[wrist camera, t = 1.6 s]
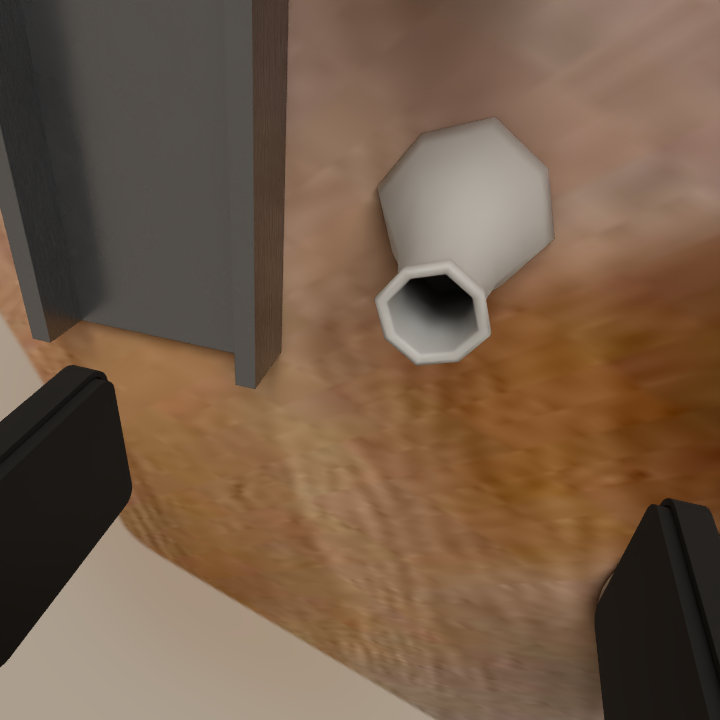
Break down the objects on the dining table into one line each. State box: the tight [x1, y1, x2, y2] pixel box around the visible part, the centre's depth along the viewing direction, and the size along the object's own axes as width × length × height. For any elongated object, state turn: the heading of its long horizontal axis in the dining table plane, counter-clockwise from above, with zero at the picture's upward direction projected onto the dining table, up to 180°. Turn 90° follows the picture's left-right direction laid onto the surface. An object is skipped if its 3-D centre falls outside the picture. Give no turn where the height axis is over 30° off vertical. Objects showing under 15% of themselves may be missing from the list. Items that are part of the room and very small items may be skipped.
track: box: [0, 0, 288, 389], centre depth 25 cm, size 20×12×4 cm, turn 175°
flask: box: [375, 117, 555, 366], centre depth 21 cm, size 7×7×10 cm
